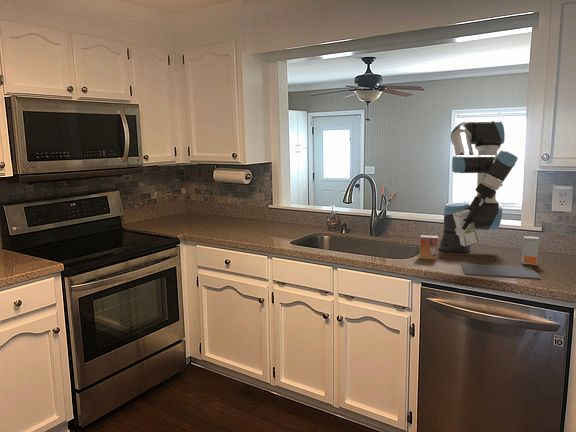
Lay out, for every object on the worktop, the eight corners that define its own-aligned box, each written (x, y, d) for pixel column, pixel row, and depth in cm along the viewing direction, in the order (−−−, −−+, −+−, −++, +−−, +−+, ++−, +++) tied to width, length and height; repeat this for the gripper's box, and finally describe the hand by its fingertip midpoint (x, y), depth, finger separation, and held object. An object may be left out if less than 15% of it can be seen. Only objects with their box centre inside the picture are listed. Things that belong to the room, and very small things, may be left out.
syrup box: (473, 241, 200) (464, 208, 199) (479, 243, 194) (470, 209, 193) (460, 245, 200) (451, 212, 199) (466, 247, 194) (457, 213, 193)
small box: (419, 259, 218) (419, 236, 217) (420, 256, 224) (420, 234, 222) (437, 260, 216) (438, 237, 214) (437, 257, 221) (438, 235, 219)
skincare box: (522, 264, 207) (524, 237, 205) (521, 261, 211) (522, 235, 209) (537, 265, 205) (539, 238, 203) (536, 263, 209) (538, 236, 207)
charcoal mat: (461, 264, 207) (461, 263, 207) (531, 268, 200) (531, 267, 200) (465, 274, 192) (465, 273, 192) (540, 279, 185) (540, 277, 185)
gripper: (500, 193, 182) (468, 243, 188) (493, 188, 201) (463, 233, 207) (483, 184, 183) (451, 233, 189) (477, 180, 202) (448, 225, 208)
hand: (457, 233), depth 198 cm, fingers closed on syrup box, 7 cm apart
